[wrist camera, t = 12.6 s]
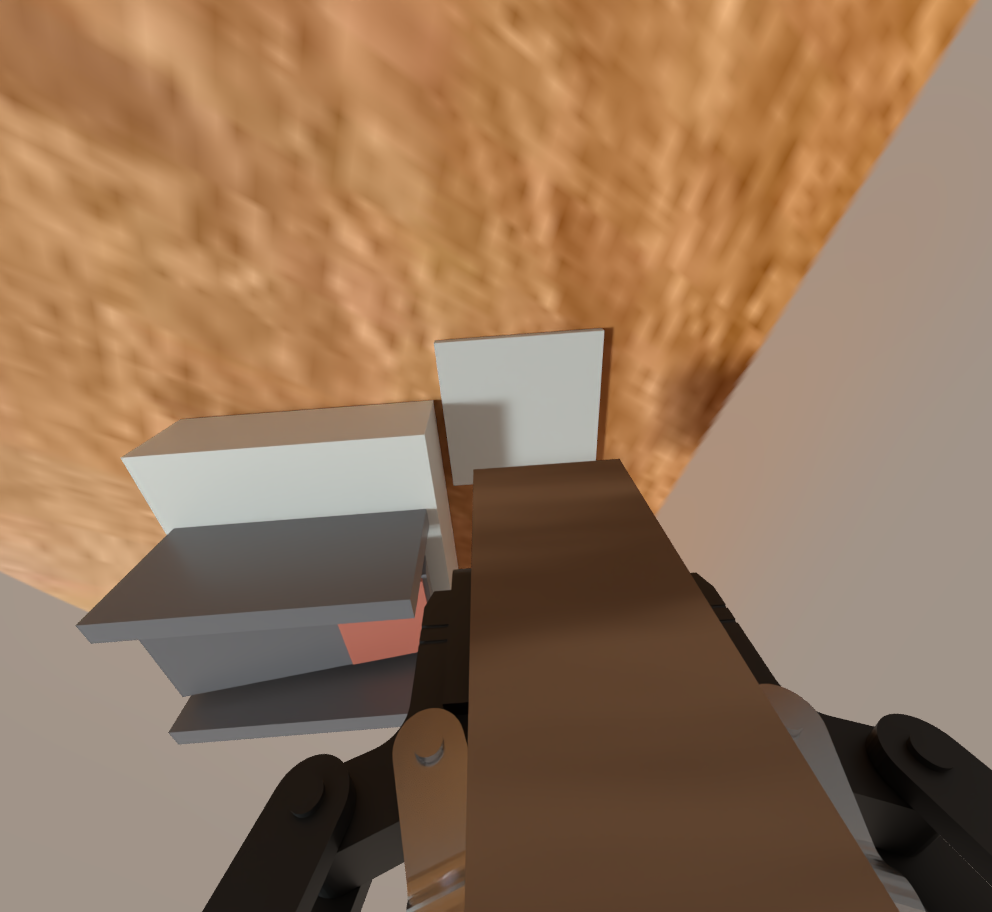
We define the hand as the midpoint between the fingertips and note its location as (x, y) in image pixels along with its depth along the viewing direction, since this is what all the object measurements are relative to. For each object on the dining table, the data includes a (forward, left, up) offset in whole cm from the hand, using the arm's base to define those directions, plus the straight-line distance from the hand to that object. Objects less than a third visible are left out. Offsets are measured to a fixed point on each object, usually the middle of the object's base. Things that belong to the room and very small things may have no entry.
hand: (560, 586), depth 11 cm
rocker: (+7, -11, -5) cm, 14 cm away
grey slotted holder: (+7, -11, -12) cm, 17 cm away
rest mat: (0, 0, -12) cm, 12 cm away
